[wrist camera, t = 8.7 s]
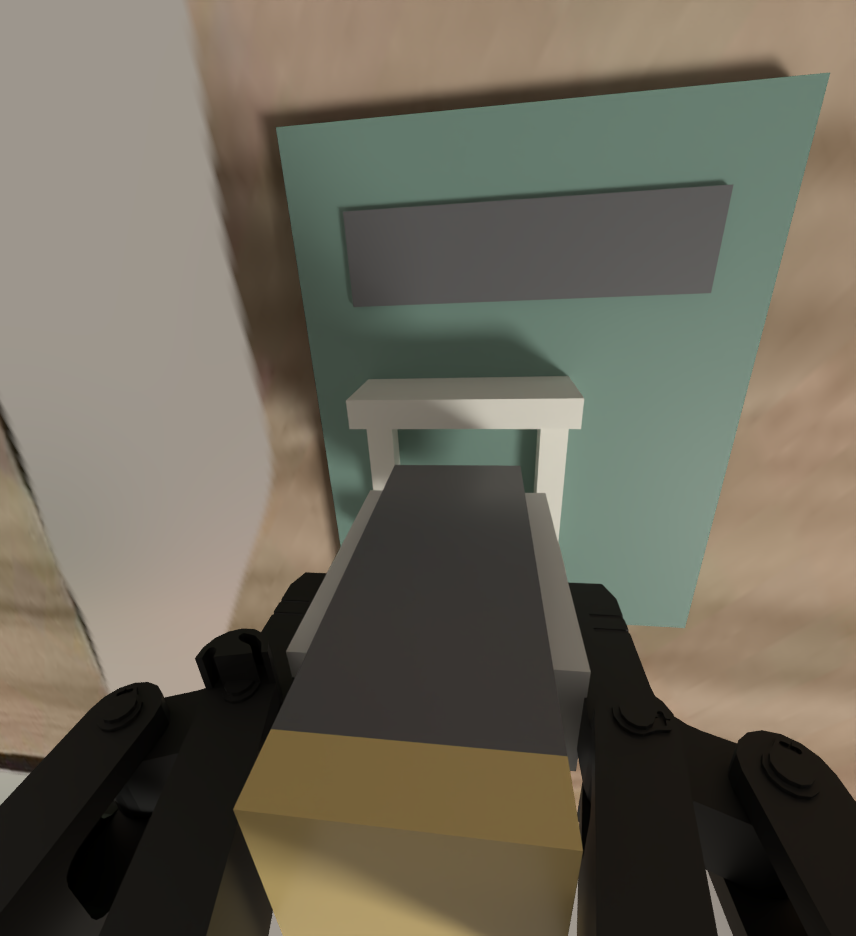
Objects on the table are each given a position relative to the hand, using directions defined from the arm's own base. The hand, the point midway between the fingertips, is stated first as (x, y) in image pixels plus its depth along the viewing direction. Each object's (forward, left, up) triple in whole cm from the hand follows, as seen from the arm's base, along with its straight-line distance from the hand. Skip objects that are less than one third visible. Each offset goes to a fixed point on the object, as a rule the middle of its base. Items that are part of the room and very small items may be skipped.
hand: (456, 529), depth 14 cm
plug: (0, 0, -1) cm, 1 cm away
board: (-2, +2, -6) cm, 7 cm away
